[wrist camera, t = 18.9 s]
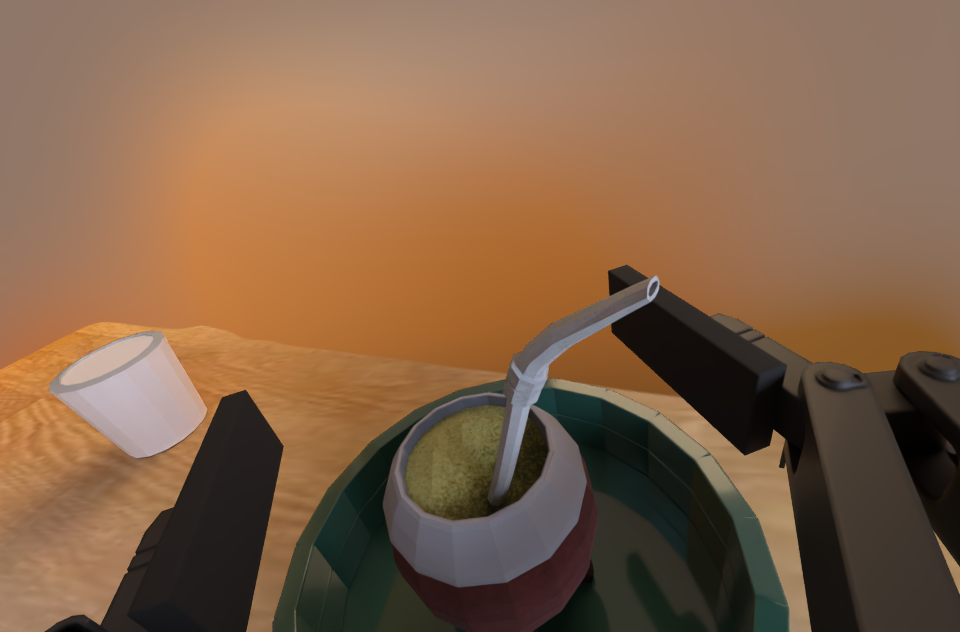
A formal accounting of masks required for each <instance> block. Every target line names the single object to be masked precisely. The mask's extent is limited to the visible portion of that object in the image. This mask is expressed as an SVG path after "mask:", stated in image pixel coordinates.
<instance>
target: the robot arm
mask: <svg viewBox="0 0 960 632" xmlns="http://www.w3.org/2000/svg"><path fill="white" fill-rule="evenodd" d="M608 276H609V294H610V296H611V295H613V294H615V293H618V292H620V291H622V290H624V289H626V288H628V287H630V286H632V285H635V284H637V283H639V282H641V281H644V280H646V279H648V278H647V277H646V276H644V275H642V274H641V273H639V272H638V271H636V270H634V269H633V268H631V267H630V266H628V265H625V266H622V267H619V268H616V269H613V270H610V271H608ZM611 328H612V333H613V334H614V335H615V336H616V337H617V338H619V339H620V340H621V341H622V342H623V343H624V344H625V345H626V346H627V347H628V348H630V350H632V351H633V352H634V353H635V354H636V355H637V356H638V357H639V358H640V359H641V360H642V361H643V362H644V363H645V364H647V365H648V366H649V367H650V368H651V369H652V370H653V371H654V372H655V373H656V374H658V376H659V377H661V378H662V379H663V380H664V381H665V382H666V383H667V384H668V385H669V386H670V387H672V389H674V390H675V391H676V392H677V393H678V394H679V395H680V396H681V397H682V398H683V399H684V400H685V401H686V402H687V403H689V404H690V405H691V406H692V407H693V408H694V409H695V410H696V411H697V412H698V413H699V414H700V415H702V416H703V417H704V418H705V419H706V420H707V421H708V422H709V423H710V424H711V425H712V426H713V427H714V428H716V429H717V430H718V431H719V432H720V433H721V434H722V435H723V436H724V437H725V438H726V439H727V440H728V441H730V442H731V443H732V444H733V445H734V446H735V447H736V448H737V449H738V450H739V451H740V452H741V453H743V454H744V455H748V454H750V453H753V452H755V451H757V450H760V449H762V448H765V447H767V446H770V442H771V438H772V433H773V429H774V430H775V431H776V432H778V433H779V434H780V435H781V436H783V437H784V438H785V443H784V447H783V451H782V455H781V460H780V465H779V468H784V467H785V463H786V466H787V473H788V479H789V486H790V492H791V499H792V506H793V512H794V519H795V525H796V532H797V538H798V545H799V551H800V558H801V565H802V571H803V578H804V584H805V591H806V597H807V604H808V610H809V617H810V624H811V630H812V632H960V594H959V592H958V589H957V587H956V585H955V582H954V580H953V577H952V575H951V573H950V570H949V568H948V565H947V563H946V560H945V558H944V556H943V553H942V551H941V548H940V546H939V543H938V541H937V539H936V536H935V534H934V532H935V533H936V535H937V536H938V537H939V539H940V540H941V541H942V543H943V544H944V546H945V547H946V548H947V550H948V551H949V552H950V554H951V555H952V557H953V558H954V559H955V561H956V562H957V564H958V565H959V566H960V359H959V358H956V357H954V356H951V355H946V354H941V353H937V352H925V351H918V352H912V353H907V354H906V355H904V356H902V357H901V359H900V361H899V364H898V366H897V369H896V370H893V371H882V372H872V373H862V372H860V371H858V370H857V369H855V368H852V367H849V366H846V365H844V364H839V363H833V362H817V363H812V362H810V361H808V360H806V359H805V358H803V357H801V356H800V355H798V354H796V353H794V352H793V351H791V350H790V349H787V348H786V347H784V346H783V345H781V344H779V343H778V342H776V341H774V340H773V339H771V338H769V337H765V335H764V334H762V333H761V332H759V331H757V330H753V328H752V327H750V326H749V325H747V324H745V323H744V322H742V321H740V320H738V319H736V318H733V317H729V316H726V315H723V314H716V315H713V316H708V315H706V314H705V313H703V312H701V311H700V310H698V309H697V308H695V307H693V306H692V305H690V304H689V303H687V302H686V301H684V300H682V299H681V298H679V297H678V296H676V295H674V294H673V293H671V292H670V291H668V290H666V289H665V288H663V287H662V286H660V285H659V290H658V292H657V295H656V297H655V298H654V299H653V300H652V301H651V302H650V303H648V304H646V305H644V306H642V307H640V308H638V309H637V310H635V311H633V312H631V313H629V314H627V315H626V316H624V317H622V318H620V319H618V320H617V321H615V322H613V323H611ZM283 447H284V446H283V445H282V443H281V442H280V440H279V439H278V437H277V436H276V434H275V433H274V431H273V430H272V428H271V427H270V425H269V424H268V422H267V421H266V419H265V418H264V416H263V415H262V413H261V412H260V410H259V409H258V407H257V406H256V404H255V403H254V401H253V400H252V398H251V397H250V395H249V394H248V392H247V391H246V390H243V391H240V392H237V393H234V394H231V395H228V396H225V397H222V399H221V401H220V403H219V406H218V408H217V410H216V412H215V415H214V417H213V419H212V422H211V424H210V426H209V428H208V431H207V433H206V435H205V437H204V440H203V442H202V444H201V447H200V449H199V451H198V453H197V456H196V458H195V460H194V463H193V465H192V467H191V469H190V472H189V474H188V476H187V479H186V481H185V483H184V485H183V488H182V490H181V492H180V495H179V497H178V499H177V501H176V504H175V506H174V507H173V508H170V509H167V510H165V511H162V512H161V513H160V514H159V515H158V517H157V518H156V519H155V520H154V522H153V523H152V524H151V525H150V527H149V528H148V529H147V530H146V532H145V533H144V535H143V538H142V540H141V542H140V544H139V546H138V548H137V550H136V552H135V553H136V556H134V557H133V558H132V560H131V563H130V565H129V567H128V569H127V570H128V573H126V574H125V575H124V577H123V579H122V581H121V583H120V586H119V588H118V590H117V592H116V594H115V596H114V598H113V600H112V602H111V604H110V606H109V608H108V611H107V613H106V615H105V617H104V619H103V621H102V623H101V625H99V624H97V623H96V622H94V621H93V620H91V619H90V618H88V617H87V616H85V615H76V616H71V617H69V618H67V619H64V620H62V621H60V622H58V623H56V624H55V625H53V626H52V627H51V628H49V629H48V630H46V631H45V632H246V630H247V625H248V620H249V615H250V610H251V605H252V600H253V595H254V590H255V585H256V580H257V576H258V571H259V566H260V561H261V556H262V551H263V546H264V541H265V536H266V531H267V526H268V521H269V516H270V511H271V506H272V501H273V497H274V492H275V487H276V482H277V477H278V472H279V467H280V462H281V457H282V452H283ZM933 530H934V531H933Z"/></svg>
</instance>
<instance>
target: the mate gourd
mask: <svg viewBox="0 0 960 632" xmlns="http://www.w3.org/2000/svg"><path fill="white" fill-rule="evenodd" d="M658 290H659V278H658V277H657V276H656V275H655V276H653V277H651V278H648V279H646V280H644V281H641V282H639V283H637V284H635V285H632V286H630V287H628V288H626V289H624V290H622V291H620V292H618V293H615V294H613V295H611V296H609V297H607V298H605V299H603V300H600V301H598V302H596V303H595V304H592V305H590V306H588V307H586V308H583V309H581V310H579V311H577V312H575V313H573V314H571V315H569V316H566V317H564V318H562V319H560V320H558V321H556V322H554V323H551V324H550V325H549V326H548V327H547V328H545V329H544V330H543V331H542V332H541V333H540V334H538V335H537V336H536V337H535V338H534V339H533V340H531V341H530V342H529V343H528V344H527V345H526V346H525V348H524V350H523V351H521V352H519V353H517V354H514V355H513V358H512V360H511V363H510V366H509V370H508V373H507V377H506V381H505V385H504V389H503V394H497V393H490V392H488V393H482V394H475V395H469V396H463V397H460V398H457V399H455V400H453V401H451V402H448V403H446V404H444V405H442V406H439V407H437V408H435V409H434V410H433V411H431V412H430V413H429V414H428V415H426V416H425V417H424V418H423V419H421V420H420V421H419V422H418V423H417V424H415V425H414V426H413V427H412V429H411V430H410V432H409V433H408V435H407V436H406V438H405V439H404V441H403V442H402V444H401V445H400V447H399V448H398V450H397V452H396V454H395V456H394V458H393V461H392V465H391V469H390V473H389V478H388V482H387V486H386V491H385V495H384V500H383V509H384V514H385V519H386V523H387V528H388V533H389V537H390V541H391V546H392V550H393V555H394V560H395V562H396V565H397V567H398V569H399V571H400V574H401V575H402V577H403V578H404V579H405V580H406V582H407V583H408V584H409V585H410V587H411V588H412V589H413V590H414V591H415V593H416V594H417V595H418V596H419V598H420V599H421V600H422V601H423V603H424V604H425V605H426V606H427V607H428V609H429V610H430V611H431V612H432V613H433V614H434V616H435V617H437V618H439V619H441V620H444V621H446V622H448V623H450V624H452V625H454V626H456V627H458V628H460V629H463V630H465V631H467V632H532V631H534V630H535V629H536V628H538V627H539V626H541V625H542V624H544V623H545V622H547V621H548V620H549V619H551V618H552V617H554V616H555V615H557V614H558V613H560V612H561V611H562V610H563V608H564V607H565V605H566V604H567V602H568V601H569V599H570V598H571V596H572V595H573V593H574V592H575V591H576V589H577V588H578V586H579V585H580V584H583V583H589V582H592V580H593V574H594V568H593V564H592V560H591V555H592V550H593V546H594V541H595V536H596V531H597V526H598V510H597V506H596V502H595V498H594V494H593V490H592V486H591V482H590V479H589V475H588V471H587V467H586V463H585V461H584V459H583V457H582V456H581V454H580V451H579V447H578V445H577V444H576V442H575V441H574V440H573V439H572V438H571V436H570V435H569V434H568V433H567V432H566V430H565V429H564V428H563V427H562V426H561V424H560V423H559V422H558V421H557V420H556V419H555V418H554V417H553V416H551V415H550V414H549V413H547V412H546V411H544V410H542V409H540V408H538V407H536V406H534V405H532V404H534V403H536V402H537V400H538V398H539V395H540V393H541V389H542V388H543V386H544V384H545V382H546V380H547V375H548V368H549V366H548V365H549V364H550V363H551V362H552V361H553V360H555V359H556V358H557V357H558V356H559V355H561V354H562V353H563V352H564V351H565V350H566V349H568V348H569V347H570V346H572V345H574V344H575V343H577V342H579V341H581V340H583V339H584V338H586V337H588V336H590V335H591V334H593V333H595V332H597V331H599V330H600V329H602V328H604V327H606V326H608V325H609V324H611V323H613V322H615V321H617V320H618V319H620V318H622V317H624V316H626V315H627V314H629V313H631V312H633V311H635V310H637V309H638V308H640V307H642V306H644V305H646V304H648V303H650V302H651V301H652V300H653V299H654V298H655V297H656V295H657V292H658Z"/></svg>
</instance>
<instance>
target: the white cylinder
mask: <svg viewBox="0 0 960 632" xmlns="http://www.w3.org/2000/svg"><path fill="white" fill-rule="evenodd" d="M49 392H51V393H52V394H53V395H54V396H56V397H57V398H58V399H59V400H61V401H62V402H63V403H64V404H65V405H67V406H68V407H69V408H70V409H72V410H73V411H74V412H75V413H77V414H78V415H79V416H80V417H82V418H83V419H84V420H85V421H87V422H88V423H89V424H90V425H92V426H93V427H94V428H95V429H97V430H98V431H99V432H100V433H102V434H103V435H104V436H105V437H107V438H108V439H109V440H110V441H112V442H113V443H114V444H115V445H117V446H118V447H119V448H120V449H122V450H123V451H124V452H125V453H127V454H128V455H130V456H132V457H135V458H142V457H149V456H152V455H155V454H157V453H160V452H162V451H165V450H167V449H169V448H170V447H172V446H174V445H175V444H177V443H179V442H180V441H182V440H183V439H185V438H186V437H187V436H188V435H189V434H191V433H192V432H193V431H194V430H195V429H196V428H197V427H198V426H199V425H200V423H201V422H202V421H203V420H204V418H205V415H206V412H207V408H206V406H205V404H204V402H203V401H202V399H201V397H200V395H199V394H198V392H197V390H196V389H195V387H194V385H193V384H192V382H191V380H190V379H189V377H188V375H187V373H186V372H185V370H184V368H183V367H182V365H181V363H180V362H179V360H178V358H177V356H176V355H175V353H174V351H173V350H172V348H171V346H170V345H169V343H168V341H167V340H166V338H165V336H164V334H163V333H162V331H153V330H152V331H146V332H141V333H136V334H133V335H130V336H127V337H124V338H121V339H118V340H116V341H114V342H111V343H109V344H107V345H105V346H103V347H100V348H98V349H96V350H94V351H93V352H91V353H89V354H87V355H86V356H84V357H82V358H80V359H78V360H77V361H75V362H74V363H73V364H71V365H70V366H68V367H67V368H66V369H64V370H63V371H61V372H60V373H59V374H58V375H57V376H56V377H55V378H54V380H53V381H52V382H51V383H50V386H49Z"/></svg>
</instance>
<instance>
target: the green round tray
mask: <svg viewBox="0 0 960 632" xmlns="http://www.w3.org/2000/svg"><path fill="white" fill-rule="evenodd" d="M505 381H506V379H505V380H500V381H496V382H491V383H487V384H483V385H478V386H474V387H470V388H465V389H461V390H458V391H455V392H453V393H451V394H449V395H447V396H444V397H442V398H440V399H438V400H436V401H434V402H431V403H429V404H427V405H425V406H423V407H420V408H418V409H416V410H414V411H413V412H411V413H410V414H408V415H407V416H406V417H404V418H403V419H401V420H400V421H399V422H397V423H396V424H394V425H393V426H392V427H390V428H389V429H388V430H386V431H385V432H383V433H382V434H381V435H379V436H378V437H377V438H375V439H374V440H372V441H371V442H370V443H369V444H368V445H367V446H366V447H365V448H364V449H363V450H362V452H361V453H360V454H359V455H358V456H357V457H356V458H355V459H354V460H353V461H352V463H351V464H350V465H349V466H348V467H347V468H346V469H345V470H344V471H343V472H342V474H341V475H340V476H339V477H338V478H337V479H336V480H335V481H334V482H333V483H332V485H331V486H330V487H329V488H328V490H327V491H326V493H325V495H324V497H323V498H322V500H321V502H320V503H319V505H318V507H317V509H316V510H315V512H314V514H313V516H312V517H311V519H310V521H309V522H308V524H307V526H306V528H305V529H304V531H303V533H302V535H301V536H300V538H299V540H298V541H297V543H296V547H295V549H294V553H293V556H292V559H291V563H290V566H289V569H288V573H287V576H286V579H285V583H284V586H283V589H282V593H281V596H280V599H279V603H278V606H277V609H276V613H275V616H274V621H273V625H272V632H467V631H465V630H463V629H460V628H458V627H456V626H454V625H452V624H450V623H448V622H446V621H444V620H441V619H439V618H437V617H435V616H434V614H433V613H432V612H431V611H430V610H429V609H428V607H427V606H426V605H425V604H424V603H423V601H422V600H421V599H420V598H419V596H418V595H417V594H416V593H415V591H414V590H413V589H412V588H411V587H410V585H409V584H408V583H407V582H406V580H405V579H404V578H403V577H402V575H401V574H400V571H399V569H398V567H397V565H396V562H395V560H394V555H393V550H392V546H391V541H390V537H389V533H388V528H387V523H386V519H385V514H384V509H383V500H384V495H385V491H386V486H387V482H388V478H389V473H390V469H391V465H392V461H393V458H394V456H395V454H396V452H397V450H398V448H399V447H400V445H401V444H402V442H403V441H404V439H405V438H406V436H407V435H408V433H409V432H410V430H411V429H412V427H413V426H414V425H415V424H417V423H418V422H419V421H420V420H421V419H423V418H424V417H425V416H426V415H428V414H429V413H430V412H431V411H433V410H434V409H435V408H437V407H439V406H442V405H444V404H446V403H448V402H451V401H453V400H455V399H457V398H460V397H463V396H469V395H475V394H482V393H488V392H490V393H497V394H503V389H504V385H505ZM532 405H534V406H536V407H538V408H540V409H542V410H544V411H546V412H547V413H549V414H550V415H551V416H553V417H554V418H555V419H556V420H557V421H558V422H559V423H560V424H561V426H562V427H563V428H564V429H565V430H566V432H567V433H568V434H569V435H570V436H571V438H572V439H573V440H574V441H575V442H576V444H577V445H578V447H579V451H580V454H581V456H582V457H583V459H584V461H585V463H586V467H587V471H588V475H589V479H590V482H591V486H592V490H593V494H594V498H595V502H596V506H597V510H598V526H597V531H596V536H595V541H594V546H593V550H592V555H591V560H592V564H593V568H594V574H593V580H592V582H589V583H583V584H580V585H579V586H578V588H577V589H576V591H575V592H574V593H573V595H572V596H571V598H570V599H569V601H568V602H567V604H566V605H565V607H564V608H563V610H562V611H561V612H560V613H558V614H557V615H555V616H554V617H552V618H551V619H549V620H548V621H547V622H545V623H544V624H542V625H541V626H539V627H538V628H536V629H535V630H534V631H532V632H789V607H788V603H787V600H786V597H785V594H784V591H783V588H782V586H781V583H780V580H779V577H778V574H777V571H776V568H775V565H774V563H773V560H772V557H771V554H770V551H769V548H768V545H767V542H766V539H765V537H764V534H763V531H762V528H761V525H760V522H759V519H758V518H756V515H755V513H754V512H753V511H752V509H751V508H750V507H749V505H748V504H747V502H746V501H745V500H744V498H743V497H742V495H741V494H740V493H739V491H738V490H737V489H736V487H735V486H734V484H733V483H732V482H731V480H730V479H729V477H728V476H727V475H726V473H725V472H724V471H723V469H722V468H721V466H720V465H719V464H718V462H717V461H716V459H715V458H714V457H713V456H712V455H711V454H710V452H708V451H707V450H706V449H705V448H704V447H702V446H701V445H700V444H699V443H697V442H696V441H695V440H694V439H692V438H691V437H690V436H689V435H687V434H686V433H685V432H684V431H682V430H681V429H680V428H679V427H677V426H676V425H675V424H674V423H672V422H671V421H670V420H669V419H667V418H666V417H665V416H664V415H663V414H660V412H658V411H656V410H654V409H652V408H649V407H647V406H645V405H643V404H641V403H638V402H636V401H634V400H632V399H630V398H628V397H625V396H623V395H621V394H619V393H617V392H614V391H612V390H610V389H607V388H603V387H598V386H593V385H588V384H583V383H578V382H573V381H568V380H563V379H555V378H550V379H547V380H546V382H545V384H544V386H543V388H542V389H541V393H540V395H539V398H538V400H537V402H536V403H534V404H532Z"/></svg>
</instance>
